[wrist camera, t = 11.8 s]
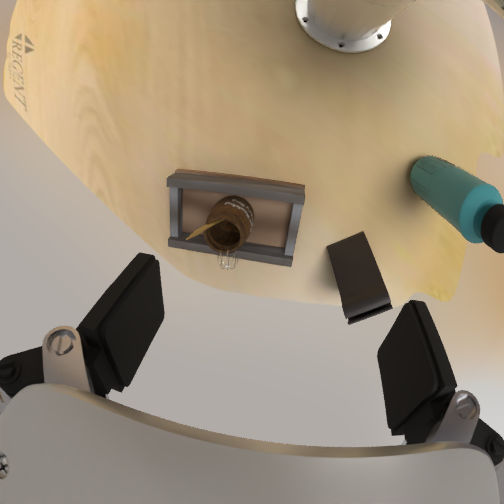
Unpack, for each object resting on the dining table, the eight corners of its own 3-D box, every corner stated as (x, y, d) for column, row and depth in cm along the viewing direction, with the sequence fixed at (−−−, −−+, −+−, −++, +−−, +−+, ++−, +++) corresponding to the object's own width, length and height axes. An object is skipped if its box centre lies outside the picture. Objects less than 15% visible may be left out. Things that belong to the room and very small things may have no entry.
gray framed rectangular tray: (178, 168, 38) (166, 175, 35) (304, 185, 37) (305, 193, 34) (178, 236, 44) (168, 248, 40) (291, 254, 43) (290, 268, 39)
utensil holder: (234, 240, 42) (213, 289, 31) (204, 209, 40) (172, 250, 30) (264, 217, 39) (252, 262, 29) (233, 183, 37) (208, 218, 27)
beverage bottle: (403, 195, 35) (473, 272, 18) (405, 150, 32) (490, 197, 15) (440, 196, 34) (518, 267, 17) (443, 152, 31) (535, 201, 14)
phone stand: (379, 276, 42) (397, 328, 32) (345, 289, 44) (355, 343, 34) (363, 230, 39) (384, 276, 29) (326, 245, 41) (335, 295, 31)
